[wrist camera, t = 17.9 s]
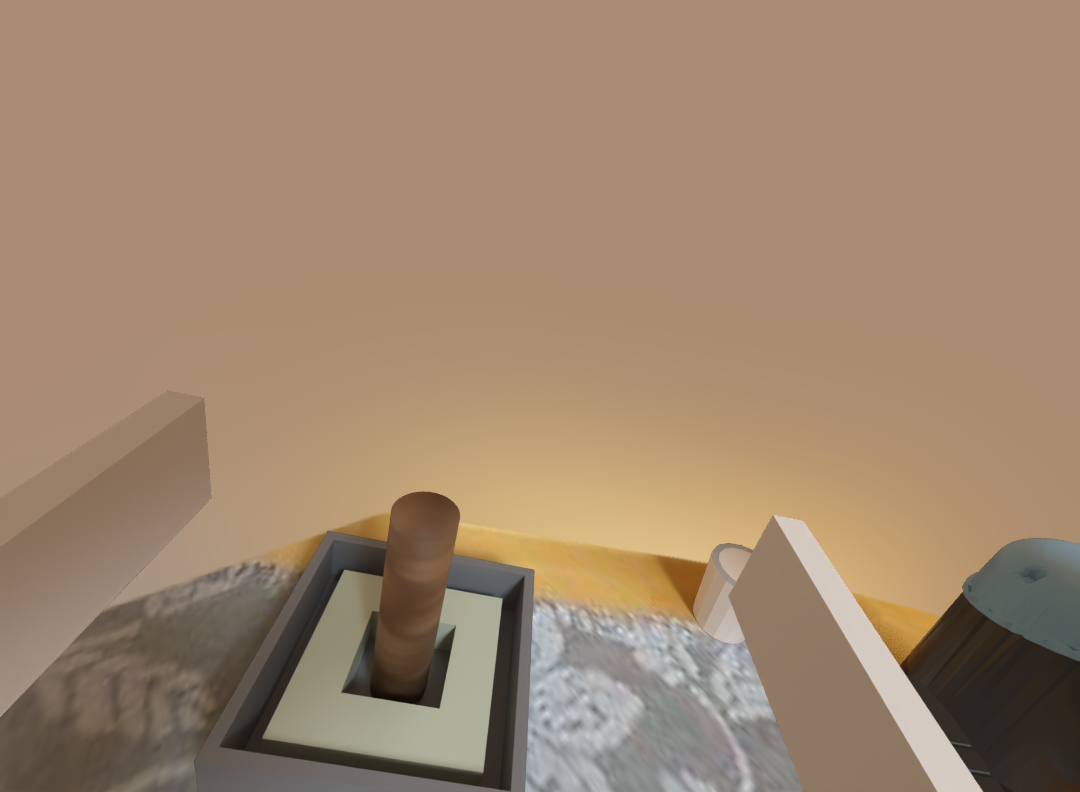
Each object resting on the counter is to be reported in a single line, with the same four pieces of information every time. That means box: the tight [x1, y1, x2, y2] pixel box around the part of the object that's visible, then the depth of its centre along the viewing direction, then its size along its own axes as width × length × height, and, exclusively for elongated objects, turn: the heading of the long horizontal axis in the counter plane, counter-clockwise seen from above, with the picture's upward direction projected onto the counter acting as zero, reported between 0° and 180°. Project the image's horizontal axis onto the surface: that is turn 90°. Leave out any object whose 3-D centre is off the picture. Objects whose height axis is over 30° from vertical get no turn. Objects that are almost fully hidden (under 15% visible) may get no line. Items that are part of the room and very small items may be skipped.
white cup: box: [693, 543, 753, 644], centre depth 50 cm, size 7×7×7 cm
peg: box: [370, 492, 460, 705], centre depth 34 cm, size 4×4×16 cm
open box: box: [194, 531, 534, 792], centre depth 36 cm, size 18×18×6 cm
